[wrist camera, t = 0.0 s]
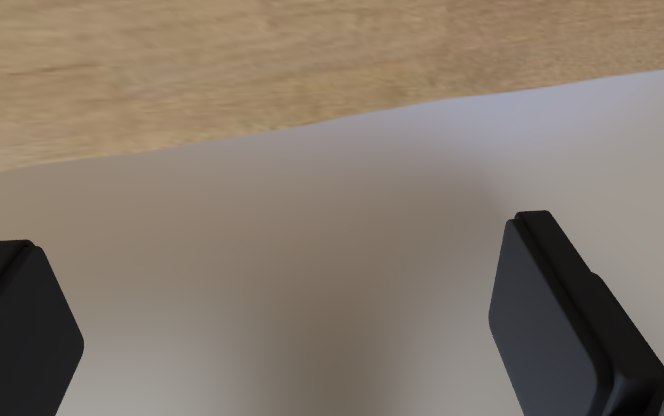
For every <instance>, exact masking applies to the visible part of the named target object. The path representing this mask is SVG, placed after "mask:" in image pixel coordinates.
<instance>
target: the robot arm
mask: <svg viewBox="0 0 664 416" xmlns="http://www.w3.org/2000/svg"><path fill="white" fill-rule="evenodd" d="M489 325H490V329H491V333H492V335H493V338H494V340H495V343H496V345H497V348H498V350H499V353H500V355H501V358H502V360H503V363H504V365H505V368H506V370H507V373H508V375H509V378H510V381H511V383H512V386H513V388H514V390H515V393H516V396H517V398H518V401H519V403H520V406H521V408H522V411H523V413H524V416H664V366H663V364H662V363H661V361H660V360H659V359H658V357H657V356H656V354H655V353H654V352H653V350H652V349H651V347H650V346H649V345H648V343H647V342H646V341H645V339H644V337H643V336H642V335H641V333H640V332H639V331H638V329H637V328H636V326H635V325H634V323H633V322H632V321H631V319H630V318H629V317H628V315H627V314H626V312H625V311H624V309H623V308H622V306H621V305H620V304H619V302H618V301H617V299H616V298H615V297H614V295H613V294H612V292H611V291H610V290H609V288H608V287H607V285H606V284H605V282H604V281H603V280H602V279H601V278H600V277H599V276H598V275H597V274H595V273H593V272H591V271H590V269H589V268H588V266H587V265H586V264H585V262H584V261H583V259H582V258H581V256H580V255H579V253H578V252H577V251H576V249H575V248H574V246H573V245H572V243H571V242H570V240H569V239H568V238H567V236H566V235H565V233H564V232H563V231H562V229H561V228H560V226H559V225H558V223H557V222H556V220H555V219H554V217H552V215H551V213H550V212H549V211H546V210H542V211H524V212H518V213H517V214H516V215H515V218H514V219H510V220H508V221H507V222H506V225H505V230H504V236H503V241H502V246H501V251H500V257H499V262H498V267H497V272H496V277H495V283H494V288H493V293H492V299H491V304H490V309H489ZM83 350H84V340H83V337H82V334H81V332H80V330H79V328H78V325H77V323H76V321H75V319H74V317H73V314H72V312H71V310H70V308H69V306H68V303H67V301H66V299H65V297H64V295H63V292H62V290H61V288H60V286H59V284H58V281H57V279H56V277H55V275H54V273H53V271H52V268H51V266H50V264H49V262H48V259H47V257H46V255H45V253H44V251H43V250H42V248H40V247H38V246H35V245H34V244H33V243H32V242H31V241H30V240H10V241H0V416H55V415H56V413H57V410H58V408H59V406H60V404H61V402H62V399H63V397H64V395H65V392H66V390H67V388H68V386H69V384H70V381H71V379H72V377H73V374H74V372H75V370H76V368H77V366H78V363H79V361H80V359H81V357H82V354H83Z"/></svg>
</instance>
